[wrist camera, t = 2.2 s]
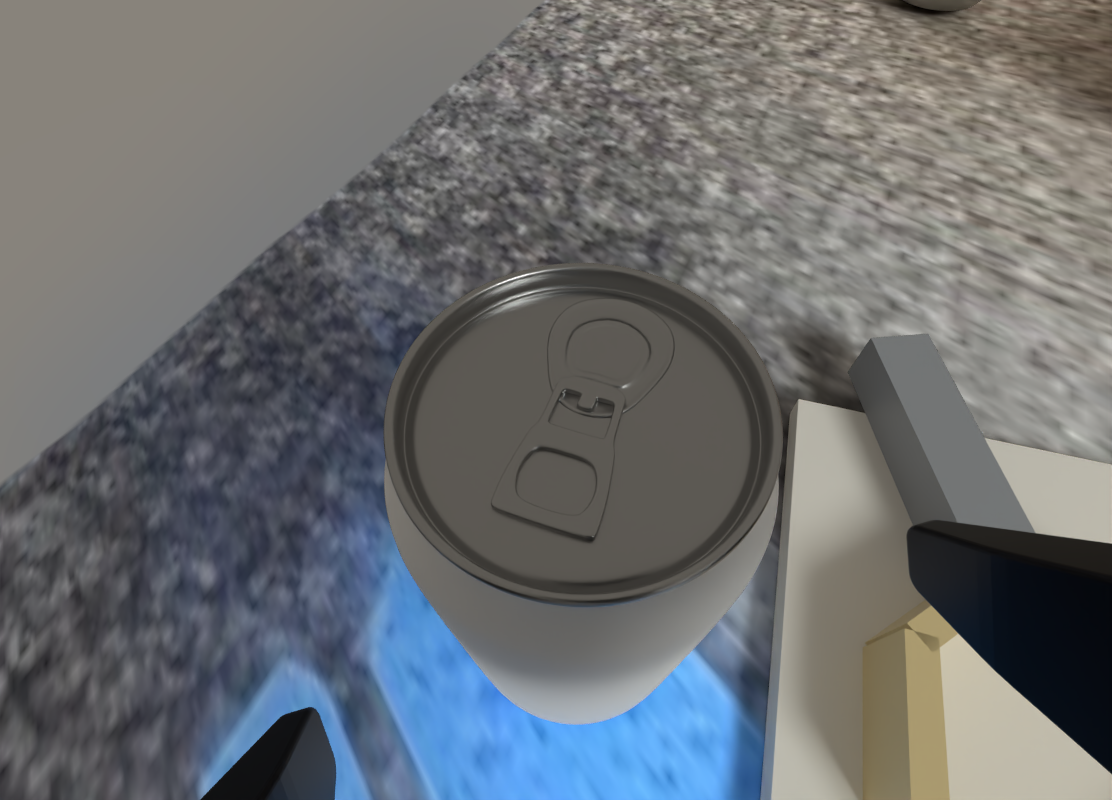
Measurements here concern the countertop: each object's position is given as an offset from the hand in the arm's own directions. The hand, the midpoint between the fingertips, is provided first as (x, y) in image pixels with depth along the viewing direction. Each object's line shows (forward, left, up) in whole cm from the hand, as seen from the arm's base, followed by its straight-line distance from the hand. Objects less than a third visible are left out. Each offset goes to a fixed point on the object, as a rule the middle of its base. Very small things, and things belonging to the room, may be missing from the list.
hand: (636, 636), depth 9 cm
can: (+2, +1, -10) cm, 11 cm away
